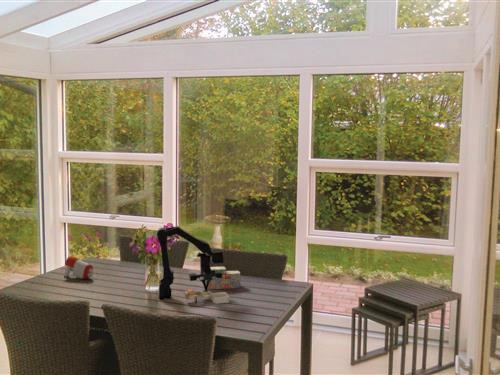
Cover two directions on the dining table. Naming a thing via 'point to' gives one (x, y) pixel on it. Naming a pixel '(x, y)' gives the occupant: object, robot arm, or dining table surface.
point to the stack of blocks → (225, 279)
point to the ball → (190, 292)
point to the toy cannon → (78, 268)
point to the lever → (203, 293)
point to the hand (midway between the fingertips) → (205, 290)
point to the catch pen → (220, 297)
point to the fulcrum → (198, 301)
